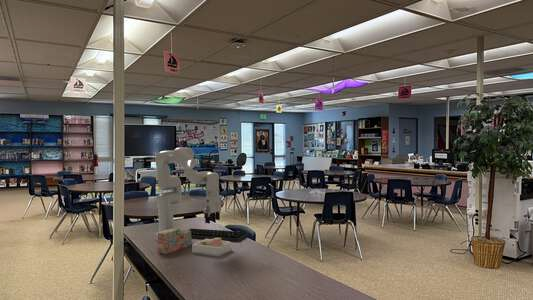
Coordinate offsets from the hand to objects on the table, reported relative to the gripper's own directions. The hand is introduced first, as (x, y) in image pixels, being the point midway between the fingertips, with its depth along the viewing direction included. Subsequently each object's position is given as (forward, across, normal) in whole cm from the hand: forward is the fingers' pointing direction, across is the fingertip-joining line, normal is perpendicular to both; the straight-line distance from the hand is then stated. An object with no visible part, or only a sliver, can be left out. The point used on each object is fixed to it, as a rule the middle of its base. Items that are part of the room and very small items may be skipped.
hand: (212, 221), depth 219 cm
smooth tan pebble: (+16, -4, -6) cm, 17 cm away
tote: (+17, -4, -2) cm, 17 cm away
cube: (+16, -4, +2) cm, 17 cm away
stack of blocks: (+18, -9, +22) cm, 29 cm away
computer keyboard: (+18, +24, +18) cm, 35 cm away
